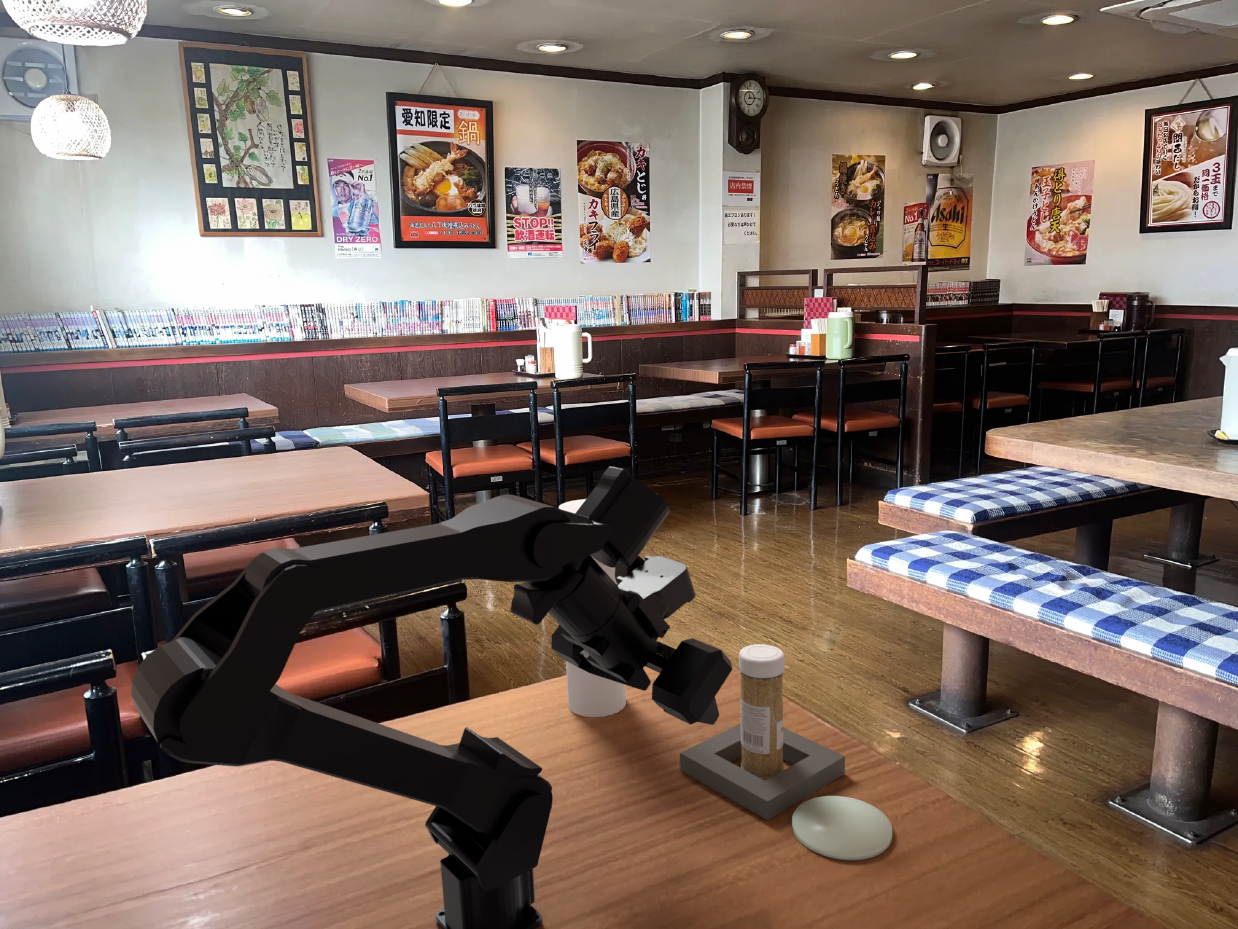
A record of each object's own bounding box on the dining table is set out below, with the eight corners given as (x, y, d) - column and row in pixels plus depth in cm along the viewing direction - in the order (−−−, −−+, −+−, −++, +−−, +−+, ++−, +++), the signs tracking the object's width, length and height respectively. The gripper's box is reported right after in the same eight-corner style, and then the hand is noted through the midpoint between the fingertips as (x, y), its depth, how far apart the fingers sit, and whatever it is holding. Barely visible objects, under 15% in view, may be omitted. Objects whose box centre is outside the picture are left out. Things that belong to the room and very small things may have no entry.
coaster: (852, 874, 75) (852, 868, 75) (772, 827, 82) (772, 821, 82) (911, 831, 81) (911, 825, 81) (831, 790, 88) (831, 785, 88)
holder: (767, 820, 83) (767, 801, 83) (680, 770, 92) (679, 753, 92) (844, 773, 91) (845, 756, 90) (756, 731, 100) (756, 715, 99)
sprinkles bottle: (793, 774, 91) (794, 653, 88) (760, 789, 88) (760, 664, 86) (762, 756, 95) (762, 638, 92) (730, 769, 92) (729, 649, 90)
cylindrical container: (636, 697, 109) (630, 502, 104) (605, 722, 103) (597, 516, 98) (589, 685, 113) (581, 496, 108) (556, 708, 107) (546, 509, 102)
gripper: (723, 556, 69) (802, 662, 78) (580, 514, 83) (660, 608, 92) (643, 672, 65) (736, 770, 74) (508, 608, 80) (599, 696, 88)
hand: (679, 702), depth 82 cm, fingers open, 9 cm apart
